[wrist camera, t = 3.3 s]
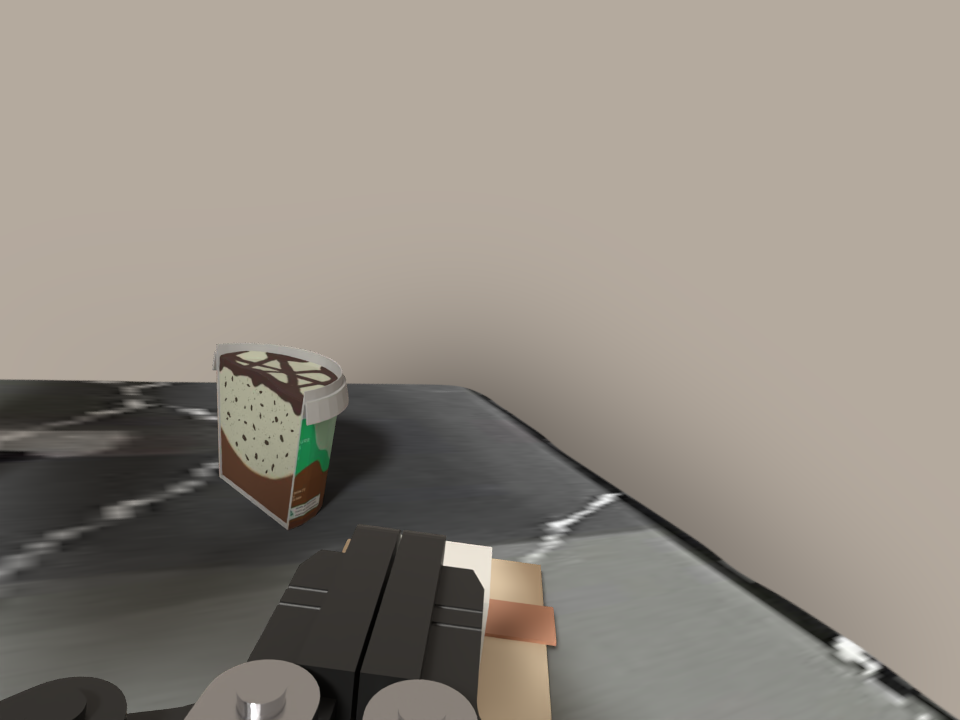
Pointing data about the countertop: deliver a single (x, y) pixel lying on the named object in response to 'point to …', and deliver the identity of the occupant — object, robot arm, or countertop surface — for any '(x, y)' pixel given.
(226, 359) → the food container
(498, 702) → the fader board
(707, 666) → the countertop surface
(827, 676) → the countertop surface
